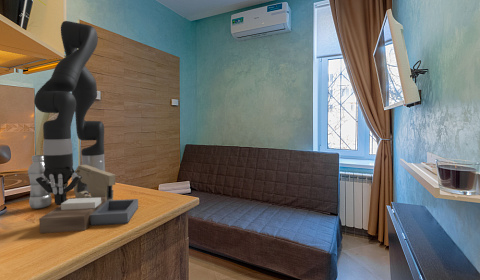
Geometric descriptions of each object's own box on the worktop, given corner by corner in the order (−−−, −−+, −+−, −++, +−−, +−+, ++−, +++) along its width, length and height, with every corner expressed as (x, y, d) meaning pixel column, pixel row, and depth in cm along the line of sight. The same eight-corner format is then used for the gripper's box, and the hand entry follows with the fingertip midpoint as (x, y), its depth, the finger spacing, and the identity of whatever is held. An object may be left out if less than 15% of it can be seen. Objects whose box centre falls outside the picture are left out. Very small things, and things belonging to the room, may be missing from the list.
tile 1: (69, 204, 80) (69, 198, 79) (85, 203, 81) (85, 198, 80) (61, 209, 75) (60, 203, 75) (78, 208, 76) (78, 202, 76)
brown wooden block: (72, 210, 86) (71, 198, 86) (107, 208, 88) (106, 197, 88) (40, 233, 68) (39, 218, 68) (84, 230, 71) (84, 215, 70)
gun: (72, 197, 100) (72, 163, 98) (80, 195, 103) (81, 162, 101) (107, 213, 89) (108, 175, 87) (115, 210, 92) (116, 174, 90)
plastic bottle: (38, 204, 91) (35, 154, 90) (56, 204, 92) (53, 154, 90) (24, 210, 85) (21, 157, 83) (43, 210, 85) (40, 157, 84)
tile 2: (85, 203, 80) (85, 198, 80) (101, 202, 81) (100, 197, 81) (78, 208, 76) (78, 203, 75) (95, 208, 77) (94, 202, 76)
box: (107, 209, 87) (106, 200, 87) (138, 207, 89) (138, 198, 89) (90, 225, 74) (90, 215, 73) (127, 223, 76) (127, 213, 75)
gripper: (86, 151, 80) (87, 199, 82) (43, 151, 78) (45, 201, 79) (74, 154, 73) (76, 207, 74) (26, 154, 71) (29, 209, 72)
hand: (60, 204), depth 77 cm, fingers closed
